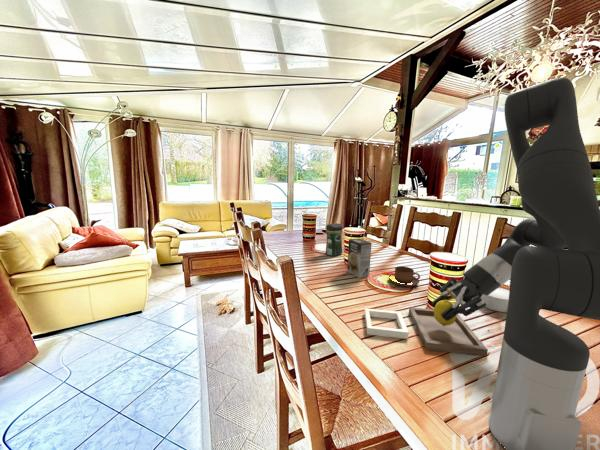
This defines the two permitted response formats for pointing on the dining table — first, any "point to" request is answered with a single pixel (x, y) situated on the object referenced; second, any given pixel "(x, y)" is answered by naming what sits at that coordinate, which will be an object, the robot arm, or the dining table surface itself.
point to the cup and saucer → (405, 276)
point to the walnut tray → (446, 334)
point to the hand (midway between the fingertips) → (438, 311)
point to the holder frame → (382, 330)
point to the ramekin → (497, 300)
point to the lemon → (439, 309)
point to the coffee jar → (334, 239)
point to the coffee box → (359, 257)
